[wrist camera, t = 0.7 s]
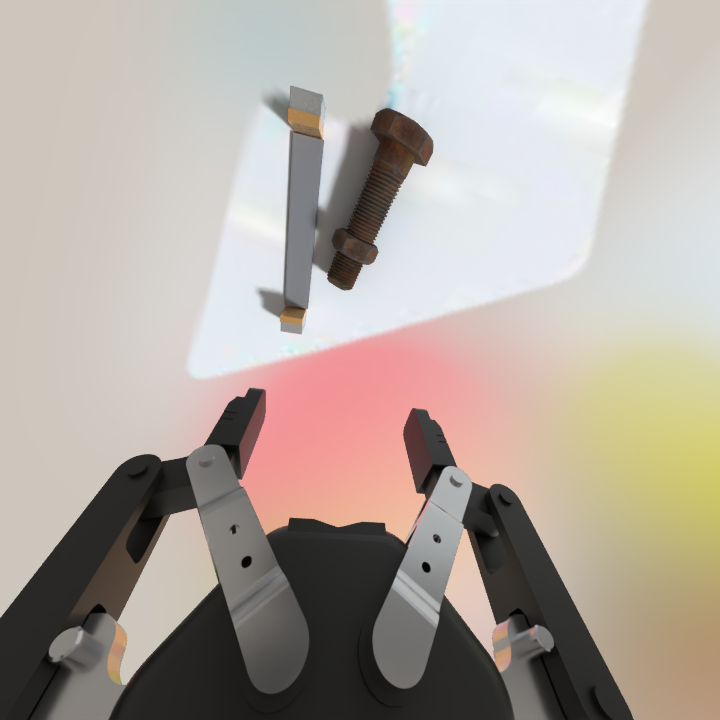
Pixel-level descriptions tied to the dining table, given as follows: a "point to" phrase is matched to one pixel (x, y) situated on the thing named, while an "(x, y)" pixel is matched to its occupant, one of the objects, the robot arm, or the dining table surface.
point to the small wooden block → (293, 319)
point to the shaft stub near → (306, 112)
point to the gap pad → (302, 217)
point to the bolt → (378, 192)
